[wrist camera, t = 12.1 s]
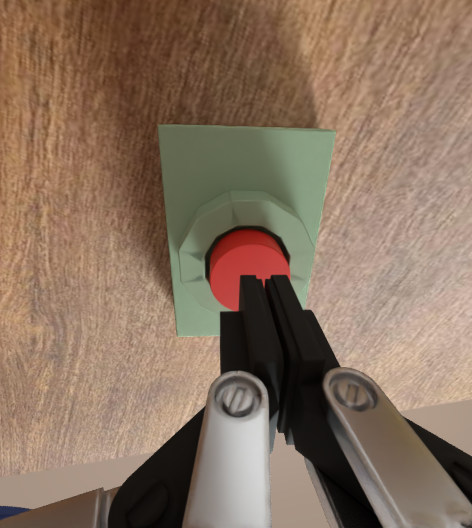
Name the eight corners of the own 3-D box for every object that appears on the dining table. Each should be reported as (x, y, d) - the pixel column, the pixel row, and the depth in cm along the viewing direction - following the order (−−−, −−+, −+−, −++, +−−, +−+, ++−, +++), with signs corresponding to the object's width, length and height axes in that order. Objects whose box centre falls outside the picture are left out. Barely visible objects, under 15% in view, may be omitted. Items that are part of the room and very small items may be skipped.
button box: (292, 313, 20) (309, 354, 16) (180, 315, 19) (173, 359, 16) (320, 128, 14) (355, 131, 11) (164, 123, 14) (147, 125, 10)
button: (278, 292, 15) (285, 312, 13) (210, 293, 14) (210, 314, 13) (285, 228, 13) (295, 243, 12) (209, 228, 13) (208, 243, 11)
